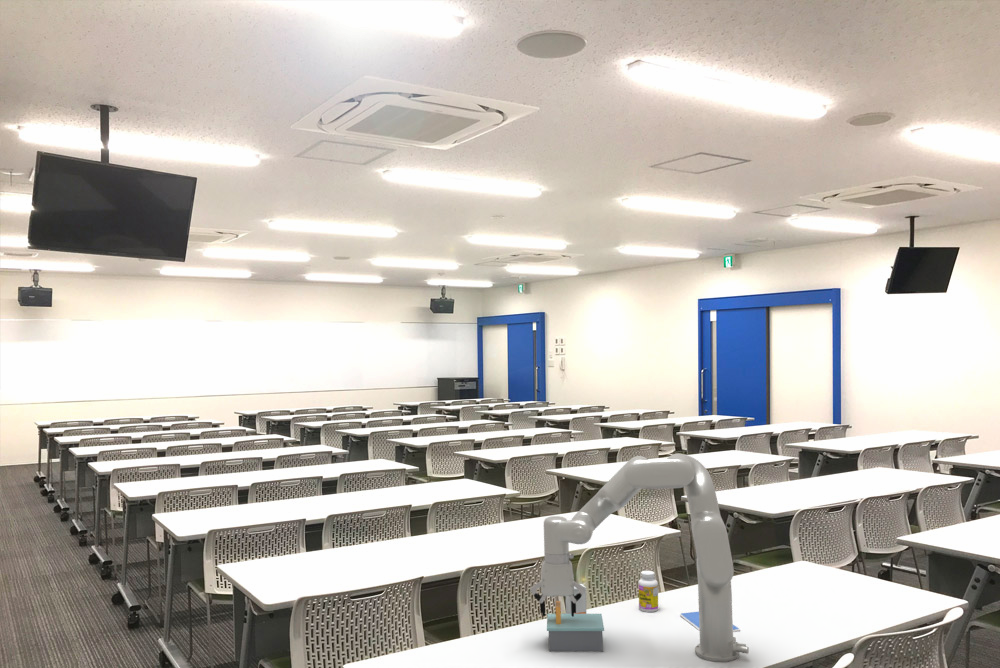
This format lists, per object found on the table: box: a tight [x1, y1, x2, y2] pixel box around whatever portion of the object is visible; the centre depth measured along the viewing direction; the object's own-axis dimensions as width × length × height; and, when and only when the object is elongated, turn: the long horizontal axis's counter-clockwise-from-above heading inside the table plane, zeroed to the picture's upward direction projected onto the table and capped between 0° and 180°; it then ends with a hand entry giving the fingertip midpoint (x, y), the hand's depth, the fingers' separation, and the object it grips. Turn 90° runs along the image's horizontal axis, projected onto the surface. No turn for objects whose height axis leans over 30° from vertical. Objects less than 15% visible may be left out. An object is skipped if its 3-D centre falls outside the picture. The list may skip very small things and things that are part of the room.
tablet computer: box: [679, 611, 741, 633], centre depth 250 cm, size 19×13×1 cm, turn 12°
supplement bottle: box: [638, 570, 659, 613], centre depth 265 cm, size 7×7×13 cm
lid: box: [546, 600, 605, 632], centre depth 233 cm, size 17×13×6 cm
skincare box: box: [565, 583, 587, 614], centre depth 254 cm, size 6×4×12 cm
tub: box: [548, 631, 604, 653], centre depth 233 cm, size 16×12×7 cm
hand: (558, 614), depth 233 cm, fingers open, 8 cm apart
